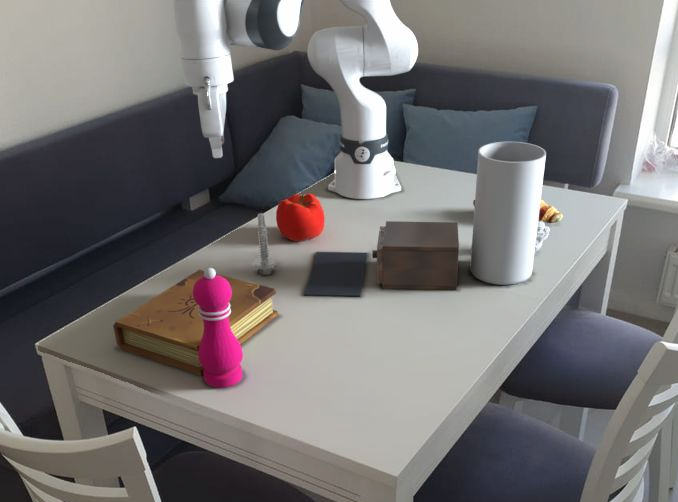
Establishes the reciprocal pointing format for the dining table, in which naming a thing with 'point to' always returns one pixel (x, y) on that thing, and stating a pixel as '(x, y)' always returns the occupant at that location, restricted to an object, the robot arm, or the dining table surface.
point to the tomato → (300, 217)
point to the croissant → (546, 213)
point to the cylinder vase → (506, 211)
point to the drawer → (379, 255)
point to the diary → (190, 322)
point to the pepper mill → (217, 331)
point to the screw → (263, 249)
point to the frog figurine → (541, 234)
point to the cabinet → (420, 255)
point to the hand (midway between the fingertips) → (218, 150)
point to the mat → (337, 274)
